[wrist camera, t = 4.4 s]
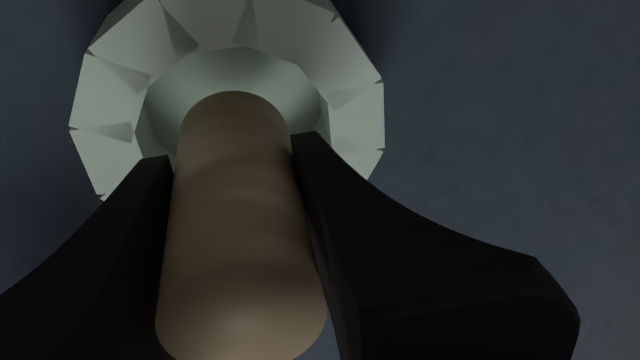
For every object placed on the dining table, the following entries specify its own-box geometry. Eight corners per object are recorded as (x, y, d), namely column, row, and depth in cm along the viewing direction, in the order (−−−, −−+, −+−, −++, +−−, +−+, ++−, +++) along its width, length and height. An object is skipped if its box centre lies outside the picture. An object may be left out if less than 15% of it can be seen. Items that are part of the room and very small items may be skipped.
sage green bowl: (356, -61, 14) (380, -40, 12) (367, 182, 18) (386, 227, 16) (48, -20, 13) (16, 9, 11) (141, 220, 18) (130, 272, 16)
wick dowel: (282, 84, 13) (321, 247, 8) (292, 176, 14) (330, 359, 9) (167, 98, 12) (134, 276, 8) (191, 190, 14) (176, 386, 9)
